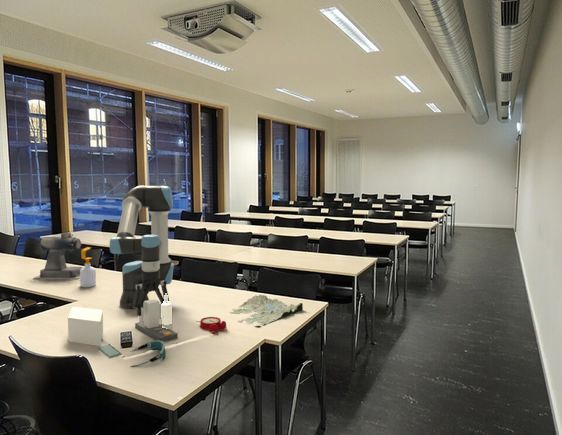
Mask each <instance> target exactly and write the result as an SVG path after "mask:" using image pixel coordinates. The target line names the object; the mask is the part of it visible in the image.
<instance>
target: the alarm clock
mask: <svg viewBox="0 0 562 435" xmlns="http://www.w3.org/2000/svg"><path fill="white" fill-rule="evenodd" d="M195 322H196V323H199V329H201V330H205V331H209V332H211V333H212V334H216V333H217V332H218V331H225V330H226V329H227V322H226V320H222V321H221V318H219V317H216V316H206V317H203V318H201V319H200V321H199V320H198V321H197V320H196V321H195Z"/></svg>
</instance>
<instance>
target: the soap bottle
mask: <svg viewBox="0 0 562 435" xmlns="http://www.w3.org/2000/svg"><path fill="white" fill-rule="evenodd" d="M91 249H92V247H89V246H87V247H85V248H83V249H81V250H80V251H81V252H80V253H81V259H82V260H84V261H85V262H84V266H83V267H82V269H81V270H80V279H79V284H80V287H81V288H91V287H95V286H96V285H97V276H96V275H97V274H96V272H97V271H96V268H95V267H93V266H91V262H90V261H91V260H93V257H86V254H87V251H88V250H91Z"/></svg>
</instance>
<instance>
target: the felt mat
mask: <svg viewBox="0 0 562 435" xmlns="http://www.w3.org/2000/svg"><path fill="white" fill-rule="evenodd" d="M97 347H98V349H99V350H100V351H101V352H102V353H104V354H105V356H107V357H108V358H113V357H117V356H121V355H123V353H122V352H120V351H119V350H118V349H117V348H115V347H114V346H112V344H109V343H108V344H104V345H101V346H97Z"/></svg>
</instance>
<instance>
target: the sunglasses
mask: <svg viewBox="0 0 562 435" xmlns="http://www.w3.org/2000/svg"><path fill="white" fill-rule="evenodd" d="M145 348H151V349H150V351H157V352H160V353H159V354H157V355H156V356H153V357H152V358H149V359H148V360H146V361H143V362H140V363H137V364H133V365H131V366H129V367H130V368H131V367H132V368H134V367H136V368H137V367H140V366H143V365H145V364H148V363H149V362H151V363H153V362H156V361H158V360H159V359H160V361H161V362H162V361H164V359H165V358H166V355H167V353H166V347H165V342H163V341H159V340H155V339H154V340H150V341H148V342H146V343H144V344H142V345H140V346H137V347H135V348H134V349H132V350H130V351H129V352H130V353H131V352H134V351H137V350H143V349H145ZM126 357H127V355H123V356H122V358H126Z"/></svg>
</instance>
